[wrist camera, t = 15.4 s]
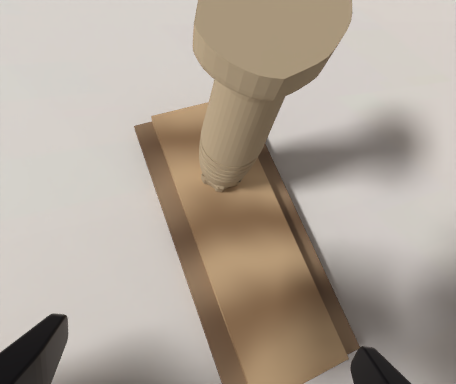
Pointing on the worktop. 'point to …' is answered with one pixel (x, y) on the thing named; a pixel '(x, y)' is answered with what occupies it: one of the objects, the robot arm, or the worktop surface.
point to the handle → (257, 71)
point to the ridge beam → (245, 262)
